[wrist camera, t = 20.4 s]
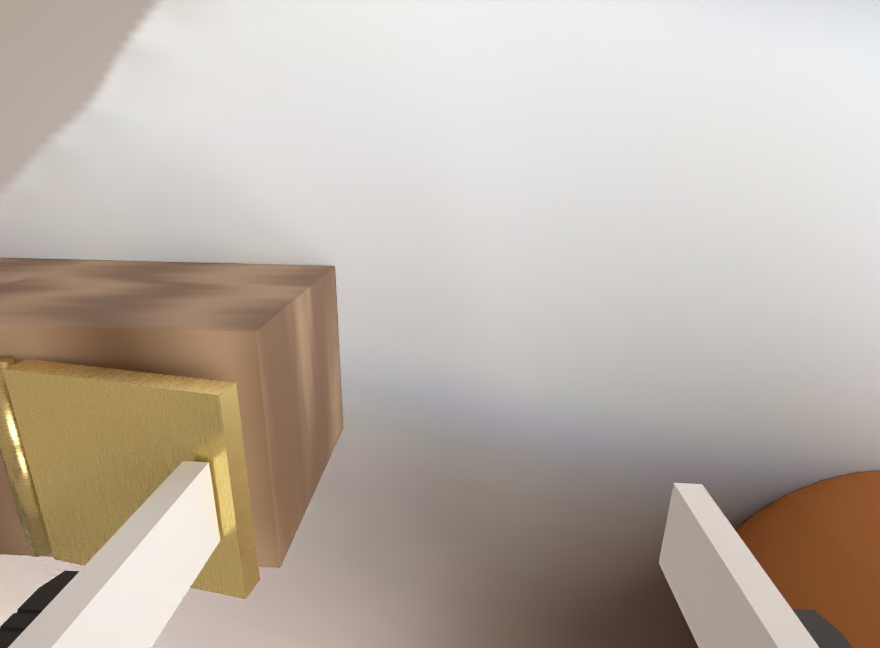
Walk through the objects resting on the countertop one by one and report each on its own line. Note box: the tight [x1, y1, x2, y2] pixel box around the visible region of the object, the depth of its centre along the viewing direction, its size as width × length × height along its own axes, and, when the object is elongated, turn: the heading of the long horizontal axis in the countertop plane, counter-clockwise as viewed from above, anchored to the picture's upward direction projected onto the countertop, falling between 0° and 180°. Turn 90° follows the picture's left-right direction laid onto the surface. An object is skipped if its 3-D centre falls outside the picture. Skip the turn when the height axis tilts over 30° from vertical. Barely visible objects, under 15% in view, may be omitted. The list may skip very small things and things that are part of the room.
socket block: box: [0, 258, 343, 568], centre depth 22 cm, size 19×9×10 cm, turn 89°
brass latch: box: [0, 356, 260, 599], centre depth 16 cm, size 1×7×8 cm
